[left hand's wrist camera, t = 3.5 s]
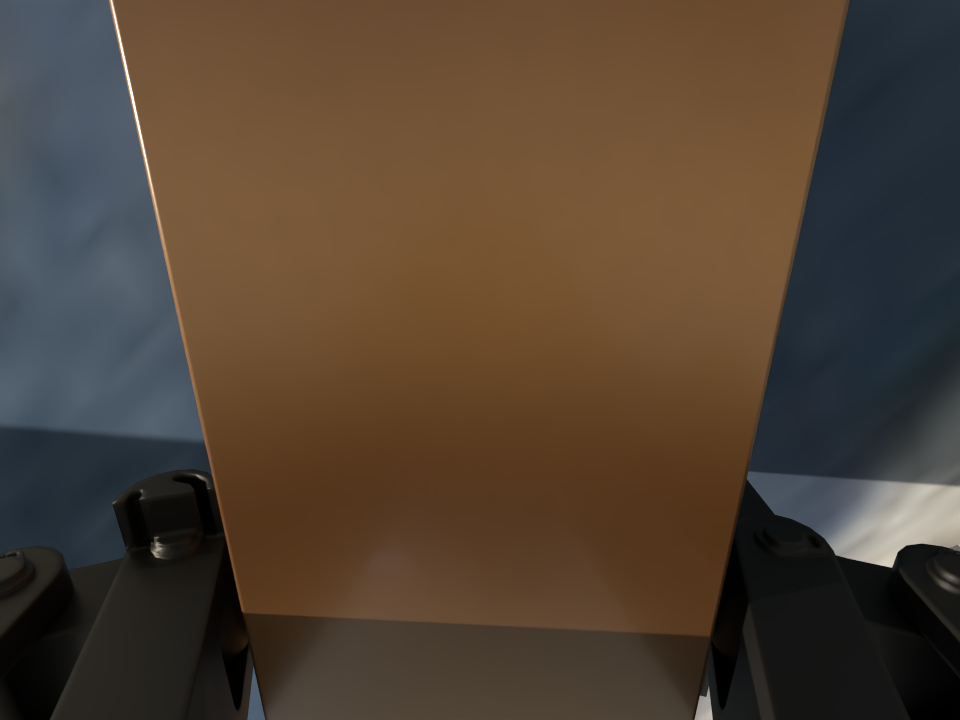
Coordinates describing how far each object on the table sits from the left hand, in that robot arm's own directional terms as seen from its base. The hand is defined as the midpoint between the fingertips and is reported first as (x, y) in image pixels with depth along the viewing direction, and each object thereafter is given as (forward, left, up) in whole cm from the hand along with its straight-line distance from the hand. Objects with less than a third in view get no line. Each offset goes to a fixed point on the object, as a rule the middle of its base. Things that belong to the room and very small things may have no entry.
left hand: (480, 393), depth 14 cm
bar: (+5, +5, -1) cm, 7 cm away
